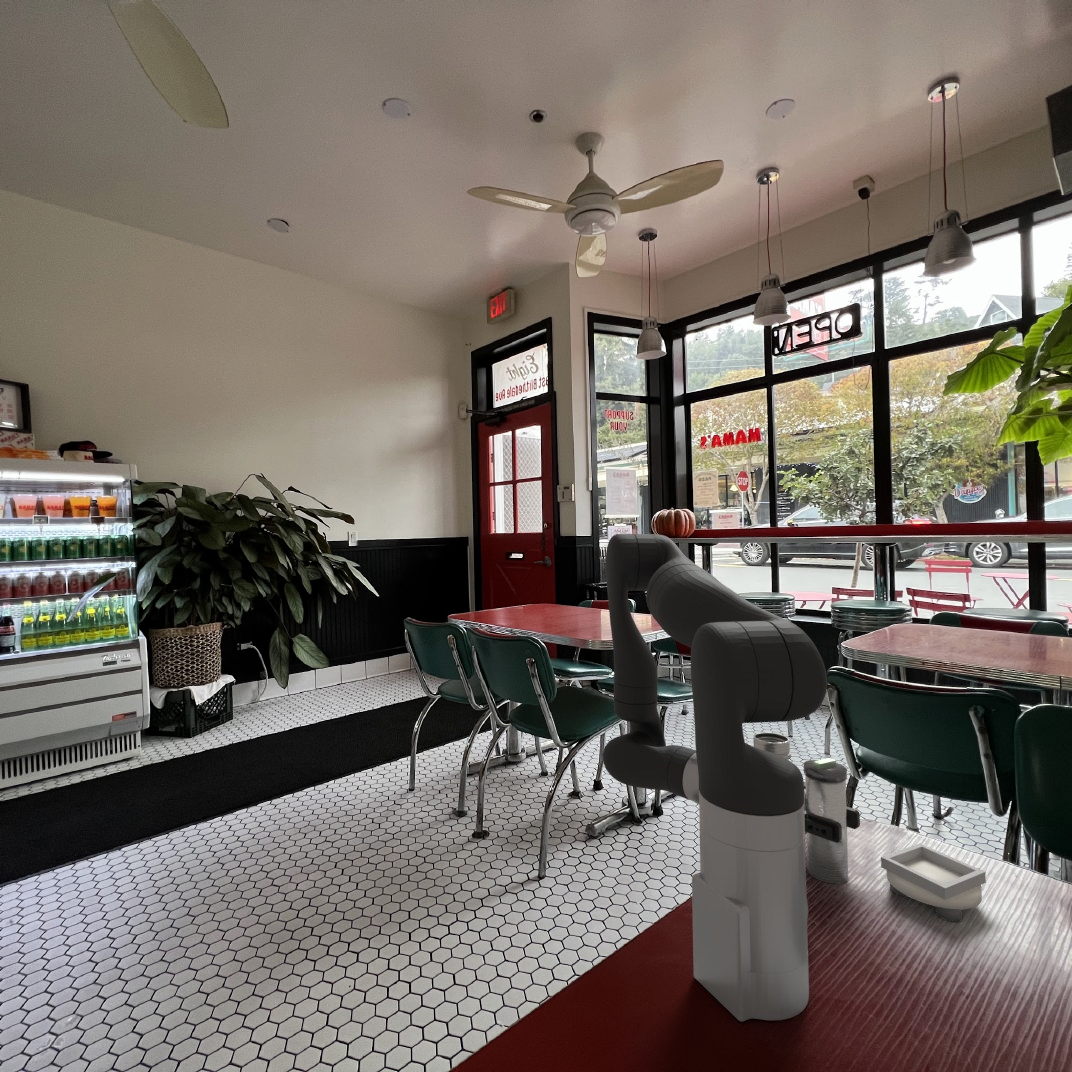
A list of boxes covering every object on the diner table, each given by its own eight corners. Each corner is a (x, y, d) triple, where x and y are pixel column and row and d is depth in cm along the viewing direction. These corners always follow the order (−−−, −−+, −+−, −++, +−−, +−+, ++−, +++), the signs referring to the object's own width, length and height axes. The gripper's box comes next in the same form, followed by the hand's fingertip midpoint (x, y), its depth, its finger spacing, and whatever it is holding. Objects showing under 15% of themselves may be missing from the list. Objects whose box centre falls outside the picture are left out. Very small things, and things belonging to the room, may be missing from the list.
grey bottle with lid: (831, 887, 70) (827, 770, 71) (797, 868, 75) (794, 758, 75) (858, 877, 72) (855, 763, 73) (824, 859, 77) (821, 752, 77)
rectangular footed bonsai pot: (950, 933, 62) (949, 894, 62) (869, 888, 70) (868, 855, 70) (1000, 909, 66) (999, 873, 66) (918, 870, 74) (917, 838, 74)
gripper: (693, 770, 80) (822, 812, 67) (750, 746, 89) (873, 779, 76) (694, 827, 80) (823, 880, 67) (751, 797, 89) (874, 839, 76)
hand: (849, 826), depth 72 cm, fingers closed on grey bottle with lid, 4 cm apart
